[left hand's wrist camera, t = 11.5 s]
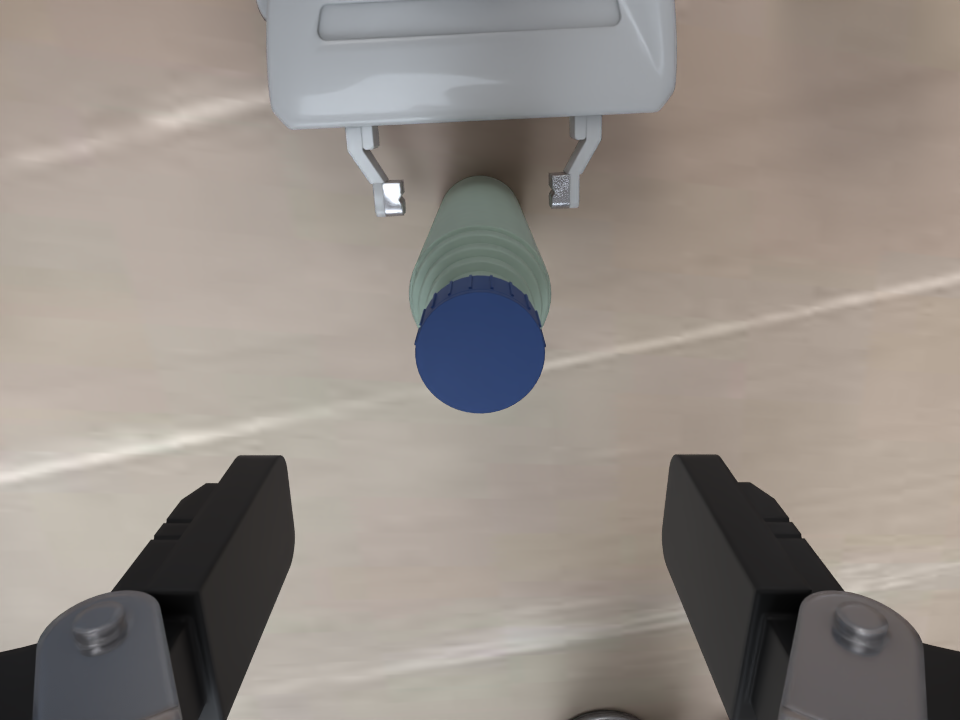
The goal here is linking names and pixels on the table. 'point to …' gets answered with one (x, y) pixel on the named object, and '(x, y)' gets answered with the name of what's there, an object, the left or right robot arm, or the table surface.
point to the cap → (480, 344)
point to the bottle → (480, 245)
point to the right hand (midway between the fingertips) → (477, 211)
